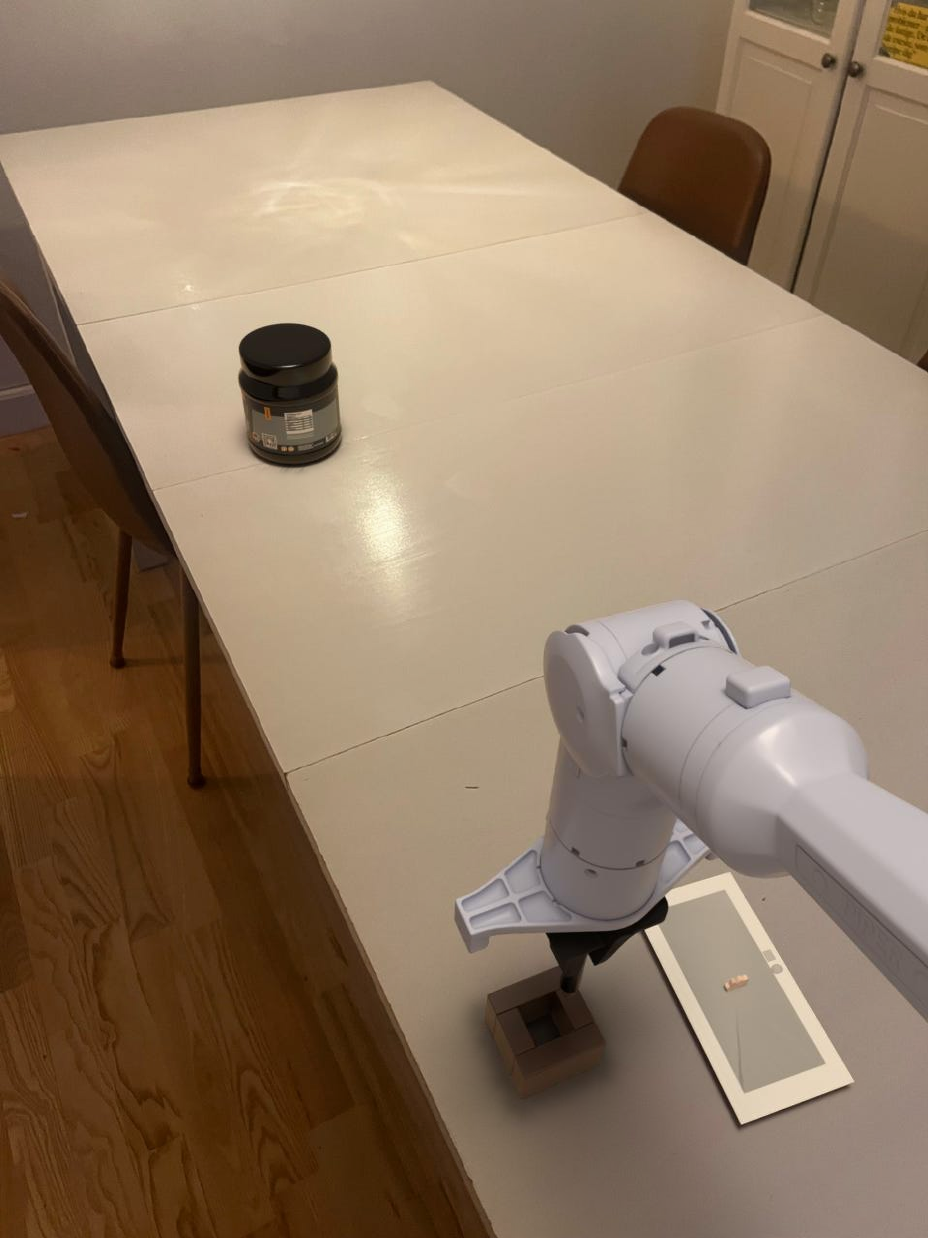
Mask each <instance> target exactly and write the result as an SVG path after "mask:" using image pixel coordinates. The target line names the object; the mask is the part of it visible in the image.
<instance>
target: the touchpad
mask: <svg viewBox="0 0 928 1238" xmlns="http://www.w3.org/2000/svg"><path fill="white" fill-rule="evenodd" d="M665 897H666V899H667V901H668V906H669V908H668V913H667V916H666V918H665V921H664V922H662V923H660V924H658V925H656V926H653V927H651V928H648V929H646V930H644V933H645V934H646V937H647V938H648V940H649V943H650V944H651V946H652V948H653V951H654V952H655V954H656V956H657V958H658V960H659V963H660V964H661V966H662V968H663V971H664V973H665V974H666V976H667V978H668V979H667V980H669V983H670V985H671V987H672V988H673V991H674V993H675V995H676V996H677V998H678V1001H679V1003H680V1005H681V1007H682V1009H683V1011H684V1013H685V1015H686V1017H687V1019H688V1021H689V1023H690V1025H691V1027H692V1029H693V1031H694V1034H695V1035H696V1037H697V1040H698V1041H699V1043H700V1045H701V1047H702V1049H703V1051H704V1054H705V1055H706V1057H707V1059H708V1061H709V1063H710V1066H711V1067H712V1069H713V1071H714V1073H715V1075H716V1077H717V1079H718V1081H719V1083H720V1086H721V1087H722V1090H723V1091H724V1093H725V1095H726V1097H727V1099H728V1102H729V1103H730V1105H731V1107H732V1109H733V1111H734V1113H735V1115H736V1117H737V1119H738V1121H739V1123H740V1125H741V1126H742V1125H744V1124H747V1123H750V1122H753V1121H755V1120H758V1119H760V1118H763V1117H766V1116H768V1115H771V1114H774V1113H776V1112H779V1111H781V1110H783V1109H784V1110H785V1109H787V1108H789V1107H792V1106H795V1105H798V1104H800V1103H802V1102H806V1101H808V1100H811V1099H813V1098H816V1097H818V1096H819V1097H820V1096H822V1095H824V1094H826V1093H829V1092H832V1091H835V1090H838V1089H840V1088H843V1087H846V1086H847V1085H851V1084H853V1083H855V1080H854V1079H853V1076H852V1075H851V1074H850V1072H849V1070H848V1067H846V1065H845V1063H844V1061H843V1060H842V1058H841V1056H840V1055H839V1053H838V1051H837V1049H836V1048H835V1046H834V1044H833V1043H832V1041H831V1040H830V1038H829V1036H828V1035H827V1033H826V1031H825V1029H824V1028H823V1026H822V1024H821V1023H820V1021H819V1020H818V1018H817V1016H816V1014H815V1013H814V1010H813V1009H812V1008H811V1006H810V1004H809V1002H808V1001H807V999H806V997H805V996H804V993H803V992H802V991H801V988H799V985H798V984H797V982H796V980H795V979H794V977H793V976H792V974H791V972H790V970H789V969H788V967H787V965H786V964H785V962H784V960H783V958H782V957H781V955H780V953H779V952H778V950H777V949H776V946H774V943H773V942H772V940H771V938H770V936H769V935H768V933H767V932H766V930H765V928H764V927H763V925H762V923H761V922H760V920H759V918H758V917H757V915H756V912H754V910H753V908H752V906H751V905H750V903H749V901H748V900H747V899H746V896H745V895H744V893H743V891H742V889H741V888H740V886H739V885H738V883H737V881H736V879H735V878H734V876H733V875H732V873H731V871H728V872H724V873H721V874H718V875H714V876H711V877H708V878H704V879H701V880H698V881H694V882H691V883H687V884H685V885H681V886H678V887H674V888H672V889H671V890H670V891H669V892H668V893H667V894H666V895H665Z"/></svg>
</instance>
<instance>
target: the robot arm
mask: <svg viewBox="0 0 928 1238" xmlns="http://www.w3.org/2000/svg"><path fill="white" fill-rule="evenodd" d="M724 622H725V621H724V620H723V619H722V618H721V617H720V616H719V615H718V614H717V613H716V612H714V611H713V610H712V609H710V608H707V607H703V606H698V605H697V604H695V603H694V602H692V601H690V600H689V599H688V600H687V599H682V598H679V599H673V600H669V601H664V602H661V603H657V604H652V605H648V606H644V607H639V608H636V609H631V610H627V611H622V612H620V613H619V612H618V613H615V614H611V615H606V616H601V617H597V618H593V619H589V620H584V621H580V622H576V623H572V624H570V625H569V626H567V627H566V628H565V630H561V629H560V630H559V629H557V630H553V631H552V632H550V634H549V635H548V636H547V638H546V640H545V645H544V649H543V656H542V657H543V659H542V660H543V661H542V663H543V664H542V665H543V666H542V667H543V668H542V669H543V670H542V671H543V679H544V681H543V682H544V686H545V692H546V698H547V702H548V706H549V710H550V713H551V716H552V719H553V722H554V724H555V727H556V730H557V733H558V734H559V739H558V740H559V741H558V746H557V752H556V759H555V765H554V772H553V779H552V784H551V791H550V797H549V803H548V808H547V810H546V814H545V815H546V816H545V828H544V834H543V835H542V836H541V837H540V838H538V839H536V841H535V842H533V843H532V844H531V845H530V846H529V847H527V848H526V849H525V850H524V851H523V852H521V853H520V854H519V855H517V857H515V858H514V859H513V860H512V861H510V862H509V863H508V864H507V865H506V866H505V867H504V868H502V869H501V870H500V871H499V872H497V873H496V874H495V875H494V876H493V877H492V878H490V879H489V880H488V881H487V882H485V883H484V884H482V885H480V887H478V888H476V889H475V890H473V891H470V892H469V893H467V894H464V895H462V896H460V897H458V898H455V900H454V915H453V916H454V917H453V920H454V922H455V925H456V927H457V929H458V932H459V935H460V936H461V938H462V941H463V943H464V945H465V947H466V949H467V951H468V954H475V953H477V952H479V951H482V950H485V949H486V948H487V947H488V946H489V945H490V938H491V937H493V936H500V935H501V936H502V935H516V934H545V935H546V937H547V939H548V942H549V949H550V950H551V953H552V955H553V956H554V959H555V961H556V962H557V964H558V965H559V966H560V968H561V970H562V972H563V974H564V976H565V977H569V976H572V975H574V974H577V973H578V972H579V971H580V970H581V969H582V966H583V964H584V961H585V958H586V956H587V957H589V959H590V961H591V963H592V965H593V966H594V967H596V966H598V965H601V964H604V963H605V962H607V961H608V960H609V959H611V958H612V956H613V955H614V954H615V953H616V952H617V951H618V950H619V949H620V948H621V947H622V946H623V945H624V944H625V943H626V942H627V941H629V940H630V939H631V938H633V936H635V935H637V934H638V933H640V932H643V931H645V930H646V929H648V928H651V927H653V926H656V925H658V924H660V923H662V922H664V921H665V918H666V916H667V913H668V908H669V906H668V901H667V899H666V897H665V895H666V894H667V893H668V892H669V891H670V890H671V889H674V888H675V887H676V886H677V884H679V883H680V882H681V881H682V880H683V879H684V878H685V877H686V876H687V875H688V874H689V873H690V872H691V871H692V870H693V869H695V867H697V866H698V864H699V863H700V862H702V860H707V861H714V860H717V859H720V861H722V862H723V863H724V864H725V865H726V866H727V867H728V868H730V869H731V870H732V871H735V873H738V874H740V875H743V876H746V877H749V878H755V879H766V880H768V879H778V878H784V877H789V876H791V877H792V878H793V879H794V881H795V882H796V883H797V884H798V885H799V886H800V887H801V888H802V889H803V890H804V892H805V893H806V894H807V895H808V896H809V897H810V898H811V900H813V901H814V902H815V903H816V904H817V905H818V906H819V907H820V909H822V911H823V912H824V913H825V914H826V915H827V917H829V918H830V919H831V921H832V922H833V923H834V924H835V925H836V926H837V927H838V928H839V930H841V932H843V933H844V934H845V935H846V937H847V938H848V939H849V940H850V941H851V942H852V943H853V944H854V945H855V946H856V947H857V949H858V950H859V951H860V952H861V953H862V954H863V955H864V956H865V957H866V958H867V959H868V960H869V962H871V964H872V965H873V966H874V967H875V968H876V969H877V970H878V971H879V972H880V973H881V974H882V976H883V977H885V978H886V980H887V981H888V982H889V983H890V984H891V985H892V987H894V988H895V990H897V992H898V993H899V994H900V995H901V996H902V997H903V998H904V999H905V1001H906V1002H907V1003H908V1004H909V1005H910V1006H911V1007H912V1008H913V1009H914V1010H915V1012H917V1013H918V1015H919V1016H920V1017H921V1018H922V1019H923V1020H924V1021H925V1022H926V1023H927V1024H928V813H927V812H926V811H924V810H923V809H920V808H918V807H916V806H915V805H913V804H912V803H909V802H908V801H906V800H904V799H902V798H901V797H898V796H897V795H895V794H893V793H891V792H890V791H888V790H886V789H884V788H882V787H881V786H879V785H877V784H876V783H874V782H872V781H871V780H870V762H869V757H868V753H867V748H866V746H865V744H864V741H863V740H862V738H861V736H860V734H859V733H858V732H857V731H856V729H855V728H854V727H853V726H852V725H851V724H850V723H848V721H846V720H845V719H843V718H842V717H841V716H839V715H838V714H835V713H834V712H832V711H831V710H829V709H827V708H826V707H824V706H822V705H821V704H819V703H817V702H816V701H814V700H812V699H810V697H808V696H806V695H804V694H803V693H802V692H799V691H798V690H796V689H794V688H793V687H791V683H792V682H791V679H790V678H789V677H788V676H786V675H785V674H784V673H782V672H780V671H778V670H777V669H774V668H773V667H771V666H770V665H767V664H766V665H761V666H756V665H755V664H753V663H752V662H750V661H748V660H747V659H745V658H744V657H742V654H741V651H740V649H739V645H738V644H737V641H736V639H735V637H734V635H733V633H732V631H731V630H730V628H729V627H728V625H727V624H726V623H724ZM558 965H557V966H558Z"/></svg>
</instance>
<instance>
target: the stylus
mask: <svg viewBox="0 0 928 1238" xmlns="http://www.w3.org/2000/svg"><path fill="white" fill-rule="evenodd" d="M587 959H588V955H587V956H586V958H585V961H584V964H583V966H582V969H581V970H580V971H579V972H578V973H577V974H574V975H572V976H569V977H565V976H564V974H563V972H561V977H560V981H559V984H560V987H561V993H562V994H563V996H565V997H567V998H569V997H572V996H573V995H574V993H575V992H576V991H577V990H578V989H579V988H580V987H581V982H582V979H583V975H584V970H585V967H586V963H587ZM579 990H580V989H579Z"/></svg>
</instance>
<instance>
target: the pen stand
mask: <svg viewBox="0 0 928 1238" xmlns="http://www.w3.org/2000/svg"><path fill="white" fill-rule="evenodd" d="M561 972H562V970H561V968H560V966H559V965H556V966H554V967H551V968H549V969H546V970H544V971H541V972H539V973H537V974H534V975H532V976H529V977H527V978H524V979H522V980H519V981H517V982H515V983H512V984H509V985H506V986H505V987H502V988H500V989H497V990H495V991H492V992H491V993H488V994H486V995H487V996H486V1004H485V1013H484V1014H485V1016H484V1019H485V1021H486V1024H487V1026H488V1029H489V1030H490V1033H491V1036H492V1037H493V1040H494V1042H495V1045H496V1047H497V1049H498V1051H499V1053H500V1056H501V1059H502V1060H503V1062H504V1065H505V1067H506V1069H507V1072H508V1074H509V1077H511V1081H512V1082H513V1086H514V1088H515V1090H516V1092H517V1095H518V1097H519V1099H520V1100H524V1099H526V1098H529V1097H531V1096H533V1095H535V1094H538V1093H540V1092H542V1091H544V1090H546V1089H549V1088H551V1087H553V1086H555V1085H558V1084H559V1083H562V1082H564V1081H567V1080H568V1079H571V1078H573V1077H576V1076H577V1075H579V1074H582V1073H584V1072H586V1071H588V1070H591V1069H593V1068H595V1067H597V1066H599V1065H600V1062H601V1059H602V1056H603V1053H604V1050H605V1047H606V1044H607V1041H606V1040H605V1037H604V1036H603V1034H602V1032H601V1030H600V1027H598V1024H597V1023H596V1020H595V1018H594V1016H593V1014H592V1012H591V1010H590V1009H589V1007H588V1005H587V1003H586V1001H585V999H584V997H583V995H582V992H581V991H580V989H578V990H577V991H576V992H575V993H574V995H573V996H572V997H569V998H567V997H565V996H563V994H562V993H561V987H560V984H559V981H560V977H561ZM548 1015H550V1016H551V1018H552V1020H553V1022H554V1024H555V1026H556V1028H557V1030H558V1032H559V1035H560V1036H558V1037H557V1038H554V1039H552V1040H549V1041H548V1042H545V1043H542V1044H540V1045H538V1046H536V1044H535V1041H534V1040H533V1038H532V1036H531V1034H530V1031H529V1029H528V1027H527V1024H529V1023H533V1021H536V1020H538V1019H541V1018H543V1017H545V1016H548Z"/></svg>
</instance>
